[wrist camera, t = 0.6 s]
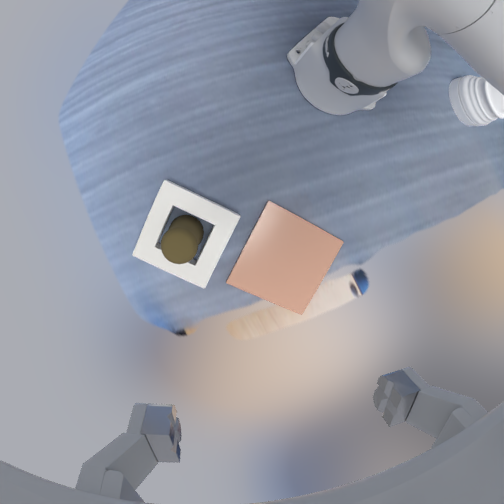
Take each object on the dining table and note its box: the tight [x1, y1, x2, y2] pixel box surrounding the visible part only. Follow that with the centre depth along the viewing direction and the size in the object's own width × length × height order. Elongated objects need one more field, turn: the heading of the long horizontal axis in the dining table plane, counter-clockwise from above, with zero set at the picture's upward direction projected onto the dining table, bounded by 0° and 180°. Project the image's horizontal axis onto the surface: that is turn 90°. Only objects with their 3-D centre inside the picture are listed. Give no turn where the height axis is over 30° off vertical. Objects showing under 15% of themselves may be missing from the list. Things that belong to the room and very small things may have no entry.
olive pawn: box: [161, 215, 204, 264], centre depth 41 cm, size 6×6×11 cm
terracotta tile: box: [226, 200, 343, 315], centre depth 50 cm, size 16×16×1 cm
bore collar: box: [133, 180, 241, 289], centre depth 45 cm, size 13×13×3 cm
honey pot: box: [449, 75, 504, 126], centre depth 37 cm, size 13×13×18 cm
